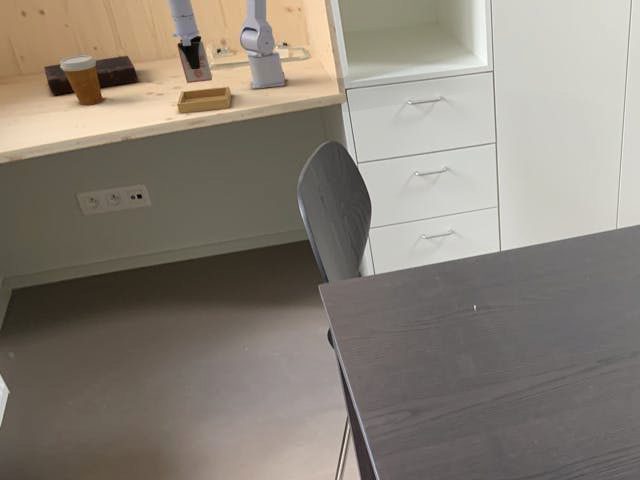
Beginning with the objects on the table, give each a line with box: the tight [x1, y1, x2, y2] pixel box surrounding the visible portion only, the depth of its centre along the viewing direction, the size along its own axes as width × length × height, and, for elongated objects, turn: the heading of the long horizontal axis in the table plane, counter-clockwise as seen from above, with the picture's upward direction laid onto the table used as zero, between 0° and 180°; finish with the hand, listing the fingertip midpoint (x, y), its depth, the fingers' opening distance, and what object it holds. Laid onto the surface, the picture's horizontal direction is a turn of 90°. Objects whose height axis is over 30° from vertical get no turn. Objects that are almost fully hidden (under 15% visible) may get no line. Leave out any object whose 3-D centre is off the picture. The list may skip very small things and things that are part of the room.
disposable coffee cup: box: [60, 54, 103, 106], centre depth 230 cm, size 10×10×12 cm
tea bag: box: [176, 41, 213, 84], centre depth 221 cm, size 4×7×10 cm, turn 106°
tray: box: [176, 86, 232, 114], centre depth 227 cm, size 14×13×2 cm
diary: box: [43, 55, 140, 96], centre depth 249 cm, size 19×25×5 cm
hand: (196, 66), depth 222 cm, fingers closed on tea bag, 4 cm apart
